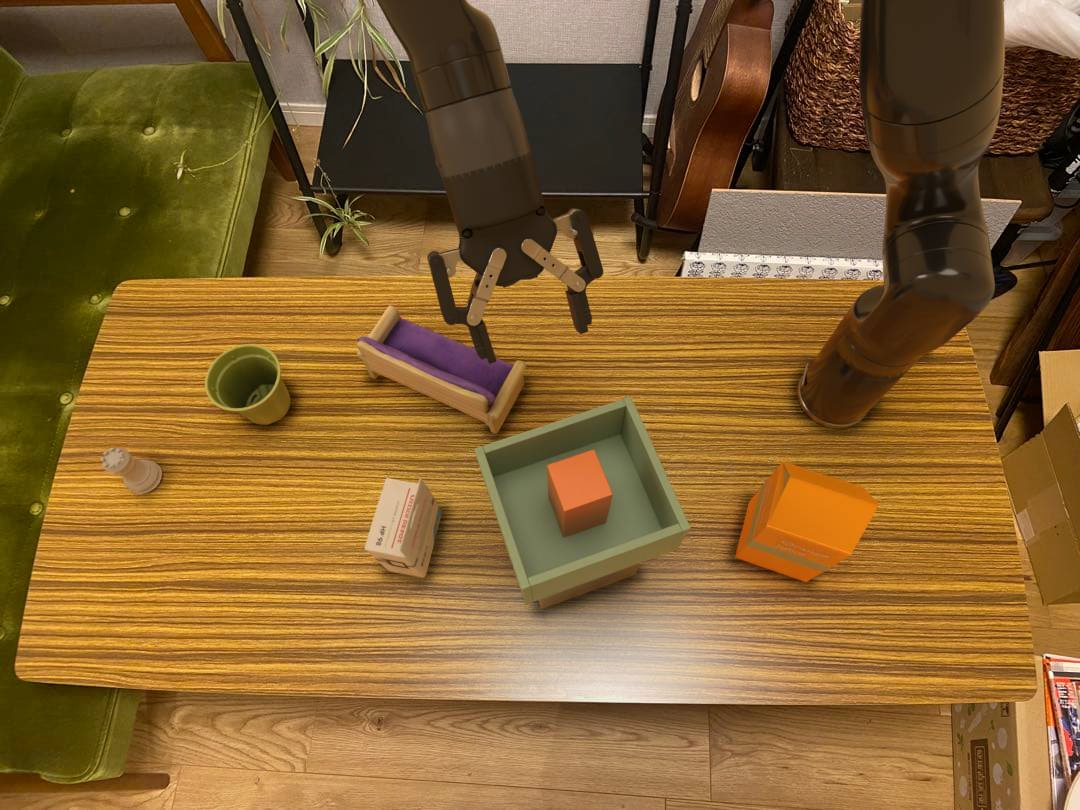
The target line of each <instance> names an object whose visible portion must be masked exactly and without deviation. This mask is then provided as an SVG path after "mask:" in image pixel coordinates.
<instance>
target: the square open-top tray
mask: <svg viewBox="0 0 1080 810" xmlns="http://www.w3.org/2000/svg"><path fill="white" fill-rule="evenodd" d="M649 435H650V434H649V433H648V430H647V428H646V426H645V424H644V421H643V420H642V418H641V414H640V413H639V411H638V409H637V406H636V404H635V402H634V400H633V398H632V396H631V395H630V396H626V397H624V398H622V399H619V400H616V401H613V402H610V403H607V404H604V405H601V406H597V407H594V408H592V409H589V410H586V411H582V412H580V413H577V414H573V415H571V416H568V417H564V418H562V419H559V420H556V421H552V422H550V423H547V424H544V425H541V426H538V427H535V428H531V429H529V430H526V431H523V432H520V433H517V434H514V435H511V436H509V437H506V438H505V437H504V438H502V439H499V440H496V441H494V442H490V443H487V444H484V445H481V446H478V447H476V448H473V450H474V453H475V456H476V460H477V465H478V467H479V471H480V474H481V477H482V481H483V483H484V486H485V489H486V491H487V494H488V497H489V501H490V504H491V506H492V509H493V512H494V515H495V518H496V522H497V525H498V527H499V530H500V533H501V537H502V540H503V542H504V545H505V548H506V551H507V554H508V557H509V560H510V563H511V566H512V570H513V572H514V575H515V579H516V581H517V584H518V587H519V591H520V593H521V596H522V598H523V599H522V600H523V602H524V605H529V604H531V603H535V602H538V600H540V599H543V598H546V597H548V596H551V595H554V594H556V593H559V592H562V591H565V590H567V589H570V588H573V587H576V586H578V585H581V584H584V583H587V582H589V581H592V580H595V579H597V578H600V577H603V576H606V575H608V574H611V573H614V572H617V571H619V570H622V569H625V568H628V567H630V566H633V565H636V564H638V563H640V564H641V563H644V562H646V561H650V560H652V559H654V558H657V557H661V556H663V555H666V554H668V553H671V552H673V551H676V550H678V549H679V547H680V546H681V544H682V543H683V541H684V540H685V538H686V537H687V535H688V533H689V532H690V530H691V529H692V528H691V524H690V523H689V521H688V518H687V517H686V514H685V512H684V510H683V508H682V506H681V504H680V501H679V499H678V497H677V494H676V493H675V490H674V488H673V485H672V483H671V482H670V479H669V477H668V475H667V472H666V470H665V468H664V465H663V463H662V462H661V459H660V457H659V455H658V453H657V450H656V448H655V446H654V443H653V442H652V440H651V438H650V436H649ZM593 449H594V450H595V452H596V455H597V457H598V459H599V462H600V464H601V467H602V469H603V471H604V474H605V476H606V479H607V481H608V483H609V486H610V488H611V491H612V493H613V496H612V500H611V505H610V509H609V513H608V518H607V522H606V523H604V524H601V525H598V526H595V527H592V528H590V529H587V530H584V531H581V532H578V533H575V534H573V535H570V536H567V537H563V535H562V532H561V529H560V527H559V524H558V521H557V519H556V516H555V513H554V511H553V508H552V505H551V503H550V500H549V497H548V480H547V465H549V464H552V463H555V462H558V461H561V460H564V459H567V458H570V457H572V456H575V455H578V454H581V453H584V452H587V451H590V450H593Z"/></svg>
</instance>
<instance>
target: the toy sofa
mask: <svg viewBox="0 0 1080 810" xmlns="http://www.w3.org/2000/svg"><path fill="white" fill-rule="evenodd" d="M356 348H357V350H358V351H357V353H356V356H357V358H359V359H360V360H361V361H362V362H363V364H364V366H365V368H366V370H367V373H368V375H369V377H370V378H371V379H374V380H377V378H379V376H382V377H385V378H387V379H389V380H392V381H394V382H396V383H399V384H400V385H403V386H405V387H407V388H410V389H412V390H414V391H416V392H418V393H420V394H423V395H424V396H427V397H429V398H432V399H433V400H436V401H438V402H440V403H442V404H444V405H447V406H449V407H451V408H454V409H456V410H458V411H460V412H462V413H464V414H466V415H468V416H471V417H473V418H475V419H477V420H479V421H481V422H483V423H484V424H485V425H486V426H488V427H489V430H490V432H491V433H492V434H494V435H498V433H499V432H500V430H501V428H502V426H503V424H504V423H505V421H506V419H507V418H508V415H509V413H510V412H511V410H512V408H513V406H514V405H515V403H516V401H517V399H518V397H519V395H520V394H521V391H522V390H523V388H524V386H525V379H524V373H525V371H526V369H527V364H526V362H524V361H522V360H519V359H518V360H516V361H515V362H514V364H512V363H509V362H507V361H505V360H502V359H500V358H498V357H496V361H497V362H494V363H491V364H489V363H488V361H487V359H482V360H481V358H480V357H479V356H478V355H477V353H476V351H475V347H472V346H468V345H465V344H463V343H462V342H459V341H456V340H454V339H453V338H452V339H451V338H449V337H448V336H445V335H443V334H441V333H438V332H436V331H434V329H433V330H431V329H429V328H427V327H423V326H421V325H419V324H416V323H413V322H411V321H409V320H407V319H405V318H402V317H401V315H400V312H399V310H398V308H397V307H395V306H393V305H390V304H389V305H388V306H387V307H386V309H385V310H384V312H383V314H382V315H381V317H380V318H379V320H378V321H377V323H376V324H375V325H374V326H373V328H372V330H371V331H370V333H369V334H368V336H360V337H358V339H357V343H356Z"/></svg>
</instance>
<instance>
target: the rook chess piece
mask: <svg viewBox="0 0 1080 810" xmlns="http://www.w3.org/2000/svg"><path fill="white" fill-rule="evenodd" d="M102 455H103V457H100V462H101V465H102V469H103V470H104V471H106V472H107V473H112V474H114V475H116V476H121V477H122V479H123V483H124V485H125V487H126V488H127V489H129V490H130V491H132V492H133V493H134V494H139V495H143V494H149V493H150V492H151V491H154V489H156V488H157V487H158V486H159V484H160V483H161V480H162V477H163V471H162V468H161V467H160V465H159V464H158V463H156V462H154V461H152V460H151V459H150V460H149V459H144V458H142V459H141V458H140V459H136V458H134V456H133V455H132V454H130V453H129V451H128V450H127V449H126V448H124V447H109V450H104V452H103V453H102Z"/></svg>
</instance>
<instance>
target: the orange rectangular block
mask: <svg viewBox="0 0 1080 810" xmlns="http://www.w3.org/2000/svg"><path fill="white" fill-rule="evenodd" d="M547 480H548V497H549V500H550V503H551V505H552V508H553V511H554V513H555V516H556V519H557V521H558V524H559V527H560V529H561V532H562V535H563V537H567V536H570V535H573V534H575V533H578V532H581V531H584V530H587V529H590V528H592V527H595V526H598V525H601V524H604V523H606V522H607V518H608V513H609V509H610V505H611V500H612V496H613V493H612V491H611V488H610V486H609V483H608V481H607V479H606V476H605V474H604V471H603V469H602V467H601V464H600V462H599V459H598V457H597V455H596V452H595V450H594V449H593V450H590V451H587V452H584V453H581V454H578V455H575V456H572V457H570V458H567V459H564V460H561V461H558V462H555V463H552V464H549V465H547Z"/></svg>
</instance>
